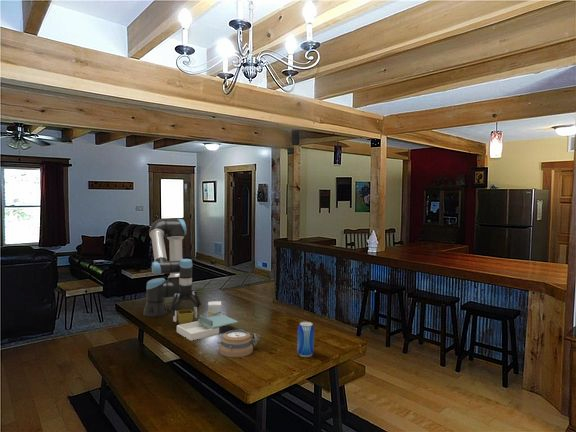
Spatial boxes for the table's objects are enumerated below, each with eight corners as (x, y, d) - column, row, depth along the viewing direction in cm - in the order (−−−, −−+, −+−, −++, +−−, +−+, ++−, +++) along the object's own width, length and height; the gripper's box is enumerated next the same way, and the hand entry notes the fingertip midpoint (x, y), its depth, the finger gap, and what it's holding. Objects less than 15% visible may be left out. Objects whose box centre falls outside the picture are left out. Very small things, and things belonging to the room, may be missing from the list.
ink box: (221, 322, 244) (221, 304, 244) (207, 323, 242) (207, 304, 242) (220, 318, 253) (221, 300, 252) (207, 319, 251) (207, 301, 250)
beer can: (296, 351, 201) (297, 321, 200) (312, 351, 201) (313, 321, 201) (298, 358, 192) (298, 326, 192) (314, 357, 193) (315, 326, 192)
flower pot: (176, 324, 238) (176, 310, 238) (191, 323, 242) (191, 309, 241) (178, 329, 230) (178, 314, 230) (193, 327, 233) (193, 312, 233)
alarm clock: (213, 333, 198) (246, 323, 216) (212, 351, 199) (245, 339, 216) (234, 342, 187) (268, 330, 204) (234, 360, 187) (267, 347, 205)
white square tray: (176, 332, 225) (176, 325, 225) (203, 326, 236) (203, 319, 236) (191, 341, 211) (191, 333, 211) (219, 334, 223) (219, 327, 223)
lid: (197, 320, 233) (197, 314, 233) (222, 315, 245) (222, 309, 245) (212, 328, 220) (212, 322, 220) (238, 322, 232) (238, 316, 232)
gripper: (168, 288, 224) (168, 324, 224) (206, 283, 240) (206, 316, 241) (163, 286, 229) (163, 321, 230) (200, 281, 246) (200, 314, 246)
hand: (185, 319), depth 235 cm, fingers open, 13 cm apart
